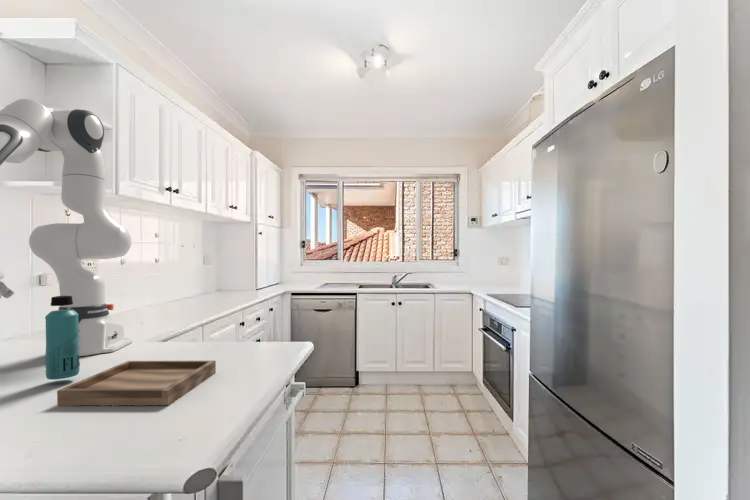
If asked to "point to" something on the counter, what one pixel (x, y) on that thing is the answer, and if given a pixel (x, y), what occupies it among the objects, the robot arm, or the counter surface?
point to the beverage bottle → (62, 341)
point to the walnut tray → (138, 383)
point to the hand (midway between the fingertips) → (4, 297)
